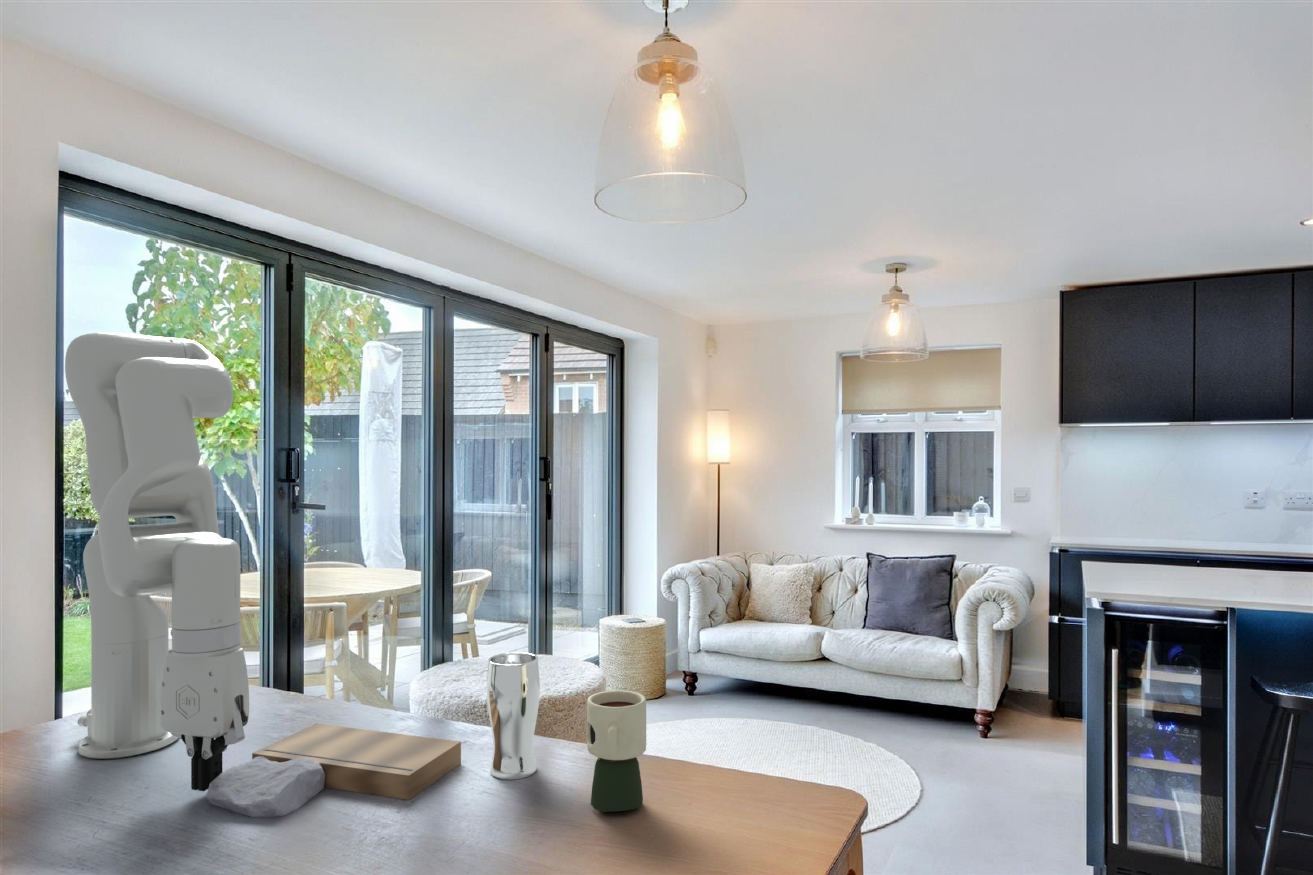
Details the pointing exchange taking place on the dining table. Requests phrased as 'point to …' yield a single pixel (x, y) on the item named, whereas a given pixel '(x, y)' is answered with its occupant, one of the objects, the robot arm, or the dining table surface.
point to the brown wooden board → (369, 758)
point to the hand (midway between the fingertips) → (207, 785)
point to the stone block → (267, 786)
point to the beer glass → (513, 713)
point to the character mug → (616, 748)
